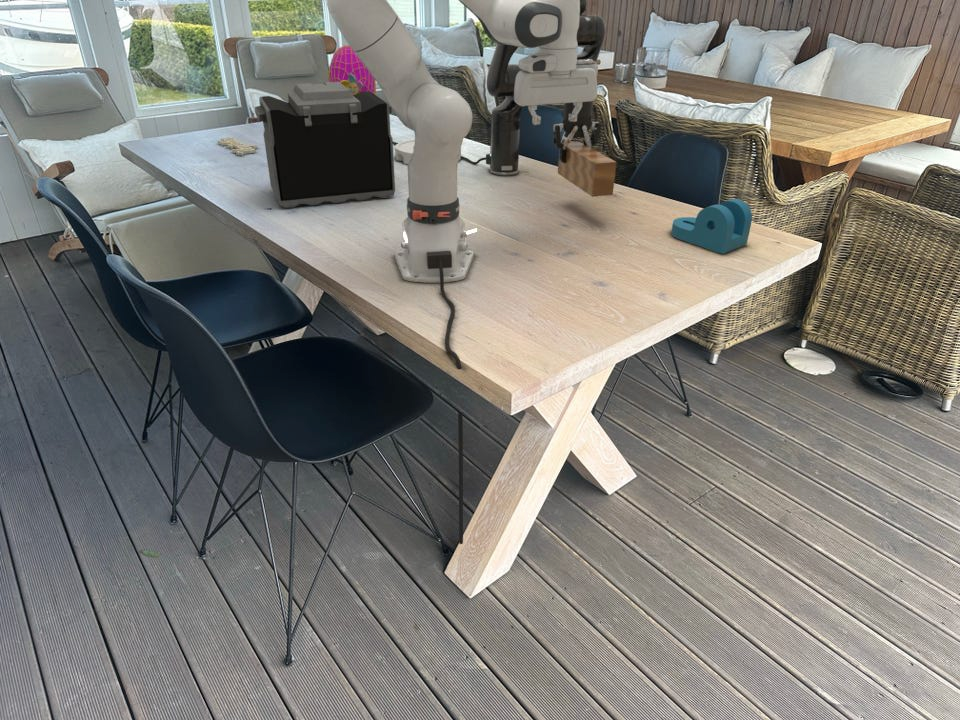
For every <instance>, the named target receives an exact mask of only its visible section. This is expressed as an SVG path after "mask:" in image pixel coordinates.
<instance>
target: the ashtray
mask: <svg viewBox="0 0 960 720" xmlns="http://www.w3.org/2000/svg"><path fill="white" fill-rule="evenodd" d="M397 143H398V144H395V146H394V150H395V151H394V152H395V153H394V154H395V160H396V161H397V162H403V164H404V165H408V163H409V161H410V160H411V158H412V155H413V150H414V144H415V138H414V139H408V140H404V141H399V142H397ZM461 156H462V148H461V149H460V153H459V158H458V162H459V161H460V160H462V159H461Z"/></svg>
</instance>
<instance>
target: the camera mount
mask: <svg viewBox="0 0 960 720" xmlns="http://www.w3.org/2000/svg"><path fill="white" fill-rule="evenodd" d="M752 223H753V212H752V209H751V208H750V206H749V205H748V203H746V202H745V200H742V199H740V198H731V199H729V200H724V201H722V202H720V203H719V204H712V205H710V206H707V207H704V208H702V209H700V210H699V211H698V213H697V215H696V217H695V216H683V217H677V218H675V219H673V220H672V225H671V233H670V234H671V236H672V237H674V238H675V239H678V240H680V241H683V242H686V243H689V244H691V245H695V246H698V247H700V248H703V249H706V250H710V251H712V252H715V253H719V254H721V255H724V254H726V253H728V252H732V251H733V250H737V249H739V248H741V247H744V246H747V244H748V240H749V236H750V231H751V226H752Z"/></svg>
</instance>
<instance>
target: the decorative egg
mask: <svg viewBox="0 0 960 720" xmlns="http://www.w3.org/2000/svg"><path fill="white" fill-rule="evenodd" d="M348 73H350V74H352V75H354V76H355V78H356V83H357V82H358V81H361V82H362V84H363V89H361V90H360V91H361V92H362V91H370V92H372V93H373V94H375V95H376V96H377V82H376V80H375V79H374V77H373V76H372V75H371V74H370V72H369V71H368V70H367V68H366V67H365V66H364V64H363V63H362V62H361V60H360V59H359V58H358V56H357V55H356V54H355V52H354V51H353V50H352V48H351V47H350V46H349V44H348V45H343V46H340V47H338V48H337V49H336V51H334V53H333V56H332V57H331V61H330V63H329V69H328V82H341V81H342V80H346V81H349V78H348Z"/></svg>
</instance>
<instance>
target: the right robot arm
mask: <svg viewBox="0 0 960 720" xmlns="http://www.w3.org/2000/svg"><path fill="white" fill-rule="evenodd" d="M588 5H589V4H588V0H580V19H579V28H578V31H577V43H578V47H579V46H581V47H582V46H583V48H582V50H581V52H580V53H577V60H587V59H592V60H593V61H595V62H596V63H597V61H598V59H599V57H600V53H601V50H602V47H603V44H604V41H605V38H606V31H607V27H606V22H605V20H604V18H603V17H602V16H601V15H598V14H584V13H585V12H586V11H587V8H588ZM518 49H519V47H517V46H512V45H499V44H496V45H495V49H494V51H493V55H492V58H491V60H490V64H489V67H488V71H487V74H486V91H487V92H488V95H490V96H491V97H493V98H505V99H504V100H503V101H502V102H501V103H500V104H499V105H497V106H495V107H493V108H492V110H491V125H490V127H491V129H490V130H491V131H490V144H489V145H490V146H489V148H490V149H489V150H490V151H489V153H486V154H485V157H481V158H478V159H477V160H476V161H472V160H471V159H470V158H467V157H465V156H462V155H461V159H460V160H465V161H466V162H468V163H470V164H471V165H478V164H479V163H481V162H483V161H485V164H486V165H489V172H490V174H493V175H496V176H505V177H507V176H509V177H510V176H515V175H517V174H519V161H520V160H519V159H520V136H521V135H520V134H521V133H520V132H521V114H522V110H523V106H520V105H518V104H517V103H516V102H515V101H514V87H515V80H516V76H517V74H518V72H519V71H521V69H520V68H519V65H518V64H515V63H512V64H510V61H511V59H512V57H513V55H514V54H515V52H516V51H517V50H518ZM593 64H594V63H593ZM574 107H575V106H574V105H573V103H564V110H563V120H562V122H561V123H557V124H556V123H553V124H551V125H552V126H551V128H552V143H553V146H554V147H556V148H558V149H559V148H560V155H559V154H558V160H559V159H560V160H561V162H562V163H566V157H567V150H566V148H567V146H568V144H569V143H570V142H572V140H573V139H577V138H580V139H581V141H582V144H584V145H586V146H588V147H590V148H592V147H593V146H597V145H598V143H599V138H600V134H601V130H602V125H603V124H602V123H601V122H599V121H597V120H595V121H593V120H592V116H593V110H594V109H593V107H594V101H587V102H582V108H581V110H580V111H579V113H578V114H577V121H576V122H570V121H569V120H568V118H569V113H572V111H573V109H574ZM563 130H564V132H563V135H562V137H561V133H562V131H563ZM589 130H591V135H589ZM398 143H399V142H396V141H393V145H396V144H398Z"/></svg>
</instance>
